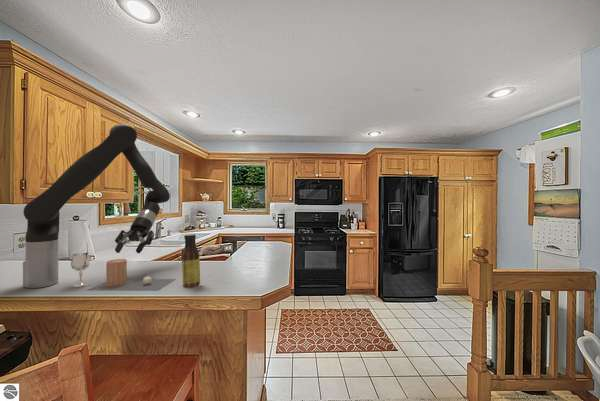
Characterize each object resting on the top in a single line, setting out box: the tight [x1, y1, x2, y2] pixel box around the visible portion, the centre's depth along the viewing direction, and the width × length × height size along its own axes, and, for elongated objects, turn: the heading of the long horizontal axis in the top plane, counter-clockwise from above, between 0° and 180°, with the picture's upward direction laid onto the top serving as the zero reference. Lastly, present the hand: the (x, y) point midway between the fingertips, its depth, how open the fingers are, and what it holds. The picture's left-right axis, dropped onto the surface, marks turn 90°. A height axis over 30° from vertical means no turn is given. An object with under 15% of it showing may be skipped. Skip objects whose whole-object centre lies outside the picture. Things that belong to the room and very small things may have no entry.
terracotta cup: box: [105, 258, 128, 287], centre depth 104 cm, size 6×6×9 cm
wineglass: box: [70, 252, 91, 288], centre depth 104 cm, size 6×6×12 cm
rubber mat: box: [87, 278, 177, 292], centre depth 104 cm, size 26×14×1 cm, turn 89°
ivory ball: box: [142, 276, 153, 285], centre depth 104 cm, size 3×3×3 cm
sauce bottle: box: [181, 233, 201, 288], centre depth 103 cm, size 7×6×20 cm
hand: (127, 252), depth 110 cm, fingers open, 8 cm apart
